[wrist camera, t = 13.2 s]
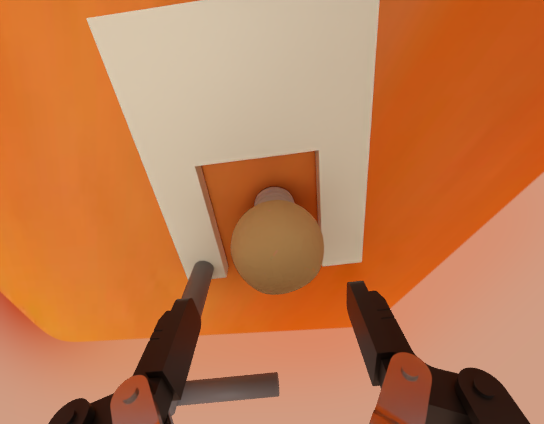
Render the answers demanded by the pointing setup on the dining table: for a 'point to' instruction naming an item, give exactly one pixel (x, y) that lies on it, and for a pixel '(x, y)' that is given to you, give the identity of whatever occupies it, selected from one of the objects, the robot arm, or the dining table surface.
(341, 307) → the dining table surface
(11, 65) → the dining table surface
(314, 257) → the light bulb
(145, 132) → the cream u-shaped stand
